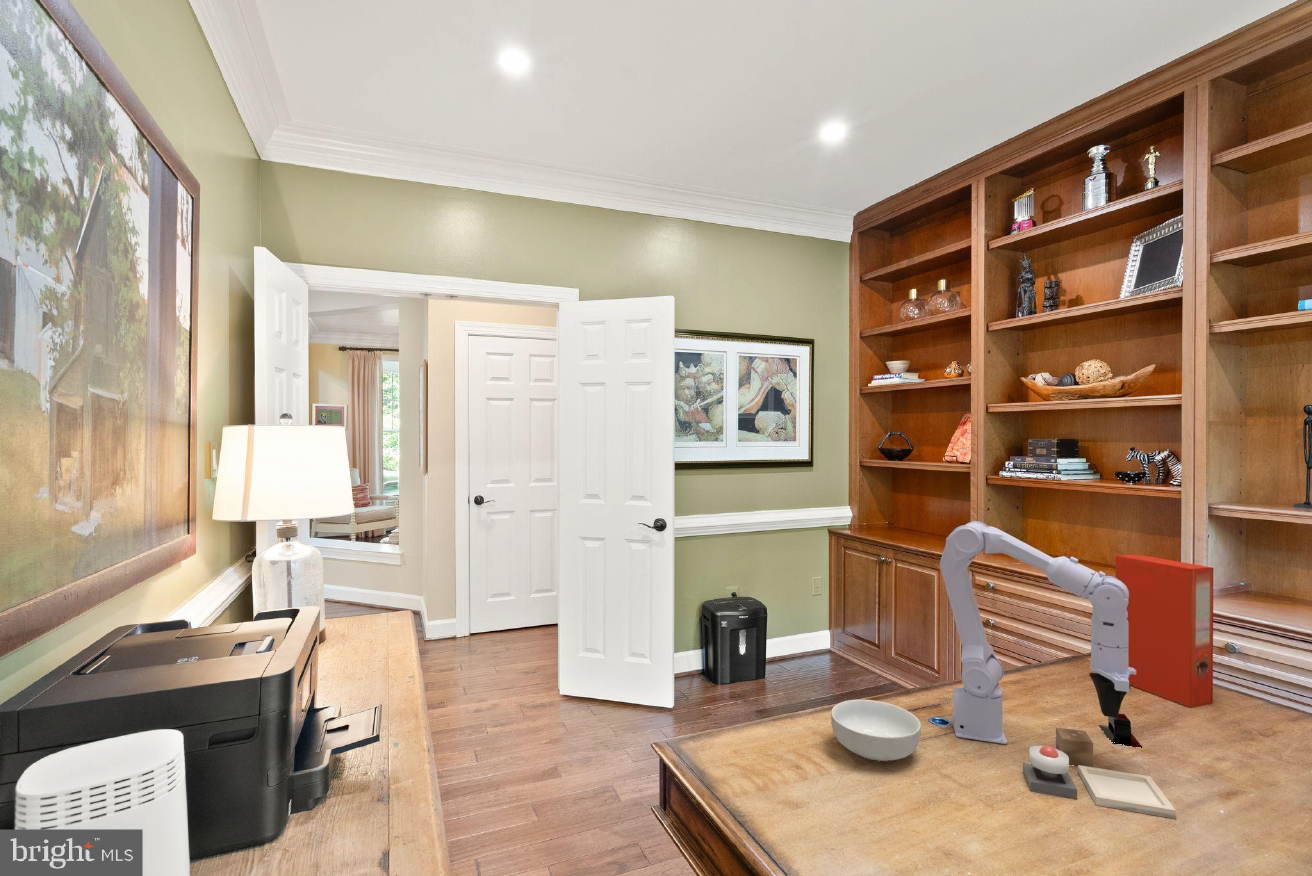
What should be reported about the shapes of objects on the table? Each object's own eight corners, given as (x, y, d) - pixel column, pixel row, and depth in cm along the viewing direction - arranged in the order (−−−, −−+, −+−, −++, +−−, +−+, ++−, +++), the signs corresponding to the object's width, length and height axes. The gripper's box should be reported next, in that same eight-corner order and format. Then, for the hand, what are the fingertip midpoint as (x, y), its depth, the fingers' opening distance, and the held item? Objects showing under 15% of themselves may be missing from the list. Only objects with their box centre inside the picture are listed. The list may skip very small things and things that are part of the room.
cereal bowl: (869, 781, 114) (869, 742, 114) (814, 740, 129) (814, 706, 129) (940, 763, 120) (940, 726, 120) (880, 726, 135) (879, 693, 135)
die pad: (1096, 804, 106) (1096, 796, 106) (1078, 772, 116) (1078, 764, 116) (1175, 818, 102) (1175, 810, 102) (1150, 784, 113) (1150, 776, 113)
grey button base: (1030, 790, 110) (1030, 781, 110) (1022, 770, 117) (1022, 762, 117) (1077, 798, 108) (1077, 789, 108) (1066, 778, 115) (1066, 769, 115)
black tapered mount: (1151, 755, 124) (1151, 732, 124) (1107, 748, 127) (1107, 726, 127) (1129, 728, 135) (1129, 707, 135) (1089, 722, 138) (1089, 702, 138)
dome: (1033, 779, 111) (1033, 751, 111) (1026, 763, 116) (1026, 736, 116) (1072, 786, 109) (1072, 757, 109) (1064, 769, 114) (1064, 741, 114)
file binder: (1137, 676, 163) (1137, 553, 163) (1213, 703, 147) (1213, 566, 147) (1114, 680, 161) (1114, 555, 161) (1189, 707, 144) (1189, 569, 144)
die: (1062, 764, 120) (1062, 738, 120) (1055, 752, 124) (1055, 726, 124) (1093, 769, 118) (1093, 742, 118) (1085, 756, 122) (1085, 730, 122)
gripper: (1150, 658, 110) (1150, 735, 110) (1121, 634, 123) (1121, 703, 123) (1102, 653, 112) (1102, 729, 112) (1079, 630, 126) (1079, 697, 126)
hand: (1109, 715), depth 118 cm, fingers closed
